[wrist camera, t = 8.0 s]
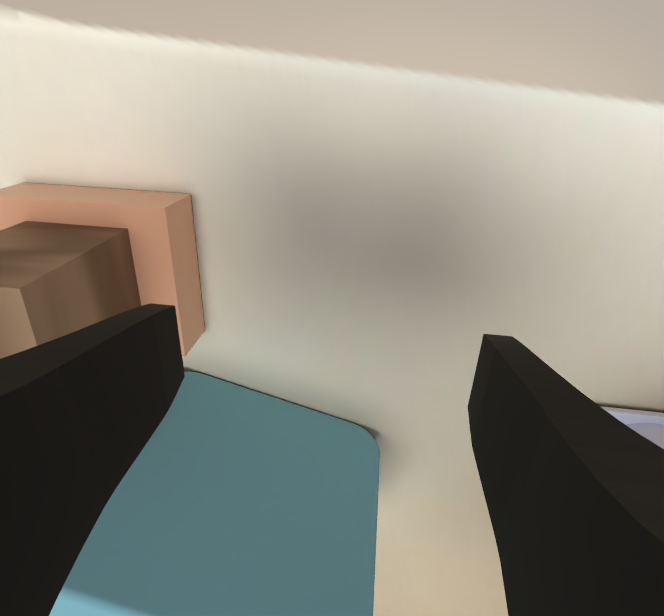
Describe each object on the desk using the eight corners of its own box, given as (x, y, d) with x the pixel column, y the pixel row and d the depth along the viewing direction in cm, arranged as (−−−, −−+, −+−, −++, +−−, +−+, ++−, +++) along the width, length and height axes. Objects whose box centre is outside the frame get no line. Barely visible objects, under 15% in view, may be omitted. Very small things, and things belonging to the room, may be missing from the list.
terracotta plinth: (190, 193, 20) (165, 207, 18) (205, 330, 23) (184, 356, 21) (23, 182, 21) (-21, 195, 19) (60, 316, 24) (26, 340, 22)
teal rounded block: (163, 421, 27) (9, 648, 16) (173, 362, 25) (4, 577, 14) (356, 484, 27) (330, 747, 16) (382, 430, 25) (372, 692, 14)
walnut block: (127, 228, 18) (19, 288, 13) (144, 324, 21) (56, 410, 15) (25, 220, 19) (-119, 276, 14) (52, 315, 21) (-65, 395, 16)
